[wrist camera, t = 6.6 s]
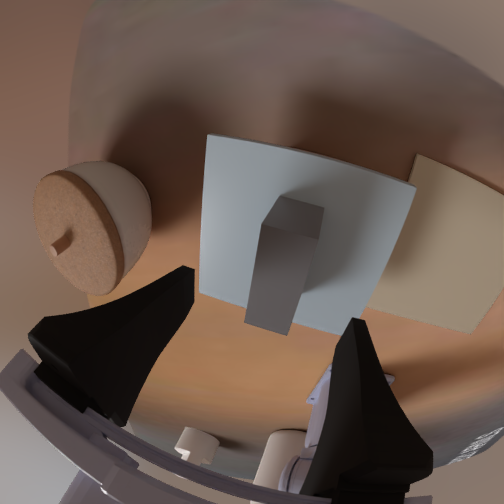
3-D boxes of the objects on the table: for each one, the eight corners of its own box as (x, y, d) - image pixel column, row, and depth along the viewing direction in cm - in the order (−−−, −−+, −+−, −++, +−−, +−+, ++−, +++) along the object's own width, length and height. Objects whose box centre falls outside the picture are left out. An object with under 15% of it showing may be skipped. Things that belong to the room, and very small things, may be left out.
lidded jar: (171, 148, 20) (81, 189, 13) (176, 261, 26) (117, 327, 18) (84, 146, 22) (8, 179, 15) (99, 238, 28) (40, 285, 21)
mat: (469, 331, 20) (470, 334, 20) (358, 301, 22) (358, 305, 22) (536, 216, 13) (539, 218, 12) (416, 153, 15) (418, 154, 15)
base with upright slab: (189, 424, 51) (167, 467, 42) (225, 441, 51) (206, 484, 42) (181, 430, 57) (161, 468, 47) (213, 446, 57) (195, 483, 47)
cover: (348, 331, 18) (344, 378, 15) (202, 287, 20) (175, 325, 17) (414, 184, 12) (437, 216, 9) (212, 133, 14) (171, 147, 11)
